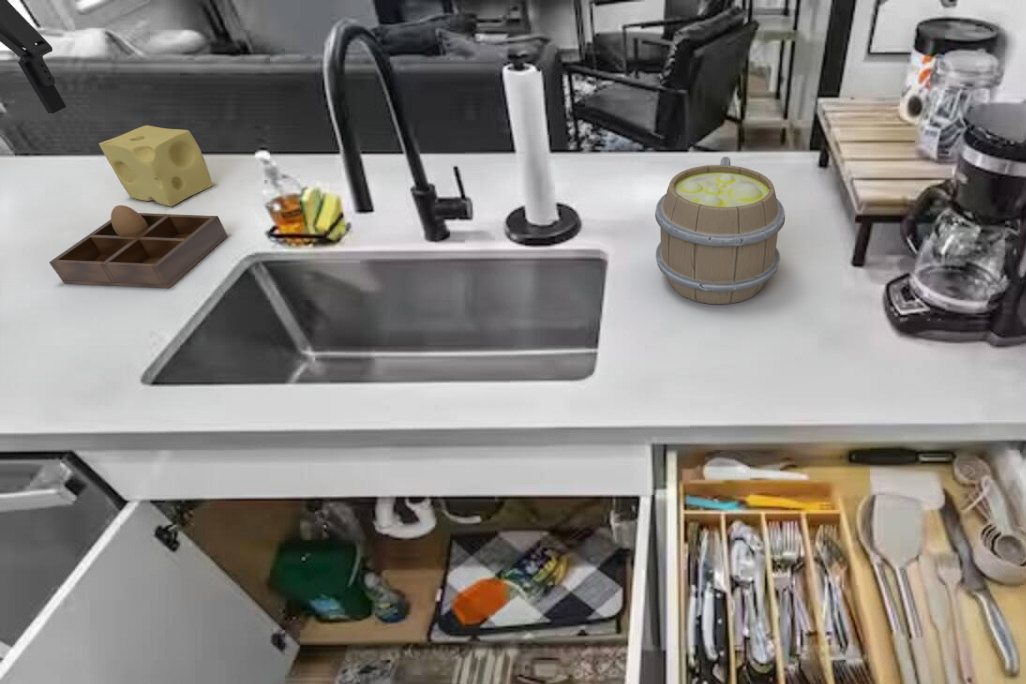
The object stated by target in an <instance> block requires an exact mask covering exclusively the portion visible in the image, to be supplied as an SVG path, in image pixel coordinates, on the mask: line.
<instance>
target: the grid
mask: <svg viewBox="0 0 1026 684" xmlns="http://www.w3.org/2000/svg"><path fill="white" fill-rule="evenodd" d="M138 213H139V214H140V215H141V216H142V217H143V218H144V220H145V221H146V223H147V224H148V227H149V228H148V229H147V230H145V231H144V232H143V233H141V234H140V235H139V236H137V237H133V236H119V235H118V234H117V233H116V232H115V230H114V228H113V226H112V223H111V219H109V220H108V221H106V222H105V223H103V224H102V225H100V226H99V227H97V228H96V229H94V230H93V231H92V232H90V233H89V234H88V235H86V236H85V237H83V238H82V239H80V240H79V241H77V242H76V243H74V244H73V245H72V246H70V247H69V248H67V249H66V250H64V251H63V252H62V253H60V254H59V255H57V256H56V257H54V258H53V259H51V260H50V261H49V265H50V266H51V267H52V269H53V270H54V271H55V273H56V274H57V275H58V277H59V279H60V280H61V282H62V283H63V284H64V285H85V286H87V285H89V286H107V287H108V286H109V287H135V288H157V289H171V288H172V286H175V284H176V283H178V281H180V280H181V279H182V278H184V276H185V275H186V274H188V273H189V272H190V271H191V270H192V269H193V268H194V267H195V266H197V264H199V263H200V262H201V261H202V260H203V259H204V258H205V257H206V256H207V255H209V254H210V253H212V251H213V250H215V249H216V248H217V247H218V246H219V245H220V244H221V243H222V242H224V241H225V240H226V239H227V238H228V237H229V235H228V233H227V231H226V230H225V228H224V225H223V223H222V221H221V220H220V218H219V215H201V214H200V215H199V214H174V213H149V212H138Z"/></svg>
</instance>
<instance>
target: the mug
mask: <svg viewBox="0 0 1026 684" xmlns="http://www.w3.org/2000/svg"><path fill="white" fill-rule="evenodd" d="M654 218H655V221H656V223H657V224H658V226H659V227H660V241H659V244H658V245H657V246H656V249H655V260H656V264H657V267H658V269H659V270H660V271H661V273H662V274H663V275H664V276H665V277H666V278H667V279H668V282H669V285H670V286H671V288H672V289H673V290H674V291H675V292H676V293H677V294H678V295H679V296H681V297H683V298H685V299H687V300H690V301H693V302H697V303H700V304H706V305H715V306H716V305H719V306H721V305H723V306H724V305H732V304H736V303H737V304H738V303H741V302H744V301H748V300H749V299H751V298H753V297H754V296H756V295H757V294H759V292H760V291H761V290H762V288H763V286H764V284H765V283H766V282H767V281H768V280H770V279H771V278H772V277H773V276H774V275H775V274H776V272H777V270H778V267H779V264H780V260H781V256H780V252H779V249H778V247H777V243H778V236H779V232H781V230H782V229H783V227H784V225H785V222H786V211H785V207H784V205H783V203H781V201H780V200H779V199H778V198H777V194H776V190H775V186H774V183H773V182H772V181H771V180H770V178H769V177H767V176H766V175H764V174H762V173H760V172H759V171H756V170H753V169H750V168H746V167H743V166H737V165H731V158H730V157H729V156H723V157H722V158H721V159H720V164H709V165H700V166H695V167H691V168H687V169H685V170H682V171H680V172H678V173H677V174H675V175H674V176H673V177H672V178H671V180H670V182H669V184H668V186H667V188H666V193H664V195H663V196H661V197H660V198H659V200H658V202H657V203H656V207H655V212H654Z"/></svg>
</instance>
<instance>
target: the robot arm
mask: <svg viewBox="0 0 1026 684" xmlns="http://www.w3.org/2000/svg"><path fill="white" fill-rule="evenodd" d="M0 43H1V44H2V45H4V46H5V47H6V48H8V49H9V50H10V51H11V52H13V53H14V54H15V55H16V56H18V57H19V60H18V61H17V64H18V66H19V67H20V69H21V71H22V72H23V74H24V75H25V77H26V79H27V81H28V82H29V84H30V85H31V87H32V89H33V91H34V92H35V94H36V95H37V97H38V99H39V101H40V103H41V104H42V105H43V106H42V107H44V109H45V111H46V112H47V114H55V113H57V112H59V111H61V110H63V109H66V108H67V105H66V103H65V101H64V99H63V98H62V96H61V94H60V93H59V91H58V89H57V87H56V86H55V84H56V78H54V76H53V74H52V72H51V70H50V69H49V66H48V65H47V63H46V62H45V60H44V56H45V55H47V54H49V53H51V52H53V47H52V45H51V44H50V43H49V42H48V41H47V40H46V39H45V38H44V37H43V36H42V35H41V34H40V32H38V31H37V30H36V29H35V27H34V26H33V25H32V24H31V23H30V22H29V21H28V20H27V19H26V18H25V17H24V16H23V15H22V14H21V12H19V11H18V10H17V9H16V7H14V6H13V4H12V3H11V2H9V0H0Z"/></svg>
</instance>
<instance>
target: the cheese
mask: <svg viewBox="0 0 1026 684" xmlns="http://www.w3.org/2000/svg"><path fill="white" fill-rule="evenodd" d="M98 145H99V147H100V149H101V151H102V153H103V155H104V157H105V158H106V160H107V161H108V163H109V165H110V167H111V168H112V170H113V172H114V174H115V175H116V178H117V179H118V181H119V182H120V184H121V185H122V187H123V188H124V190H125V192H126V193H127V195H128V196H129V197H130V198H131V199H135V200H139V201H147V202H149V201H155V202H156V203H157V204H159V205H164V206H167V207H173V206H176V205H177V204H179V203H181V202H182V201H185V200H186V199H187V198H190V197H192V196H194V195H197V194H199V193H201V192H203V191H204V190H207V189H210V188H211V187H213V186H214V185H213V182H212V179H211V176H210V172H209V169H208V166H207V163H206V160H205V158H204V155H203V153H202V150H201V148H200V146H199V145H198V143H197V141H196V139H195V138H194V136H193V134H192V133H191V132H190V130H188V129H177V128H175V129H174V128H164V127H159V126H154V125H148V124H147V125H142V126H140V127H137V128H135V129H132V130H130V131H128V132H126V133H123V134H121V135H118V136H115V137H112V138H110V139H107V140H105V141H101V142H99V143H98Z"/></svg>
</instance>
